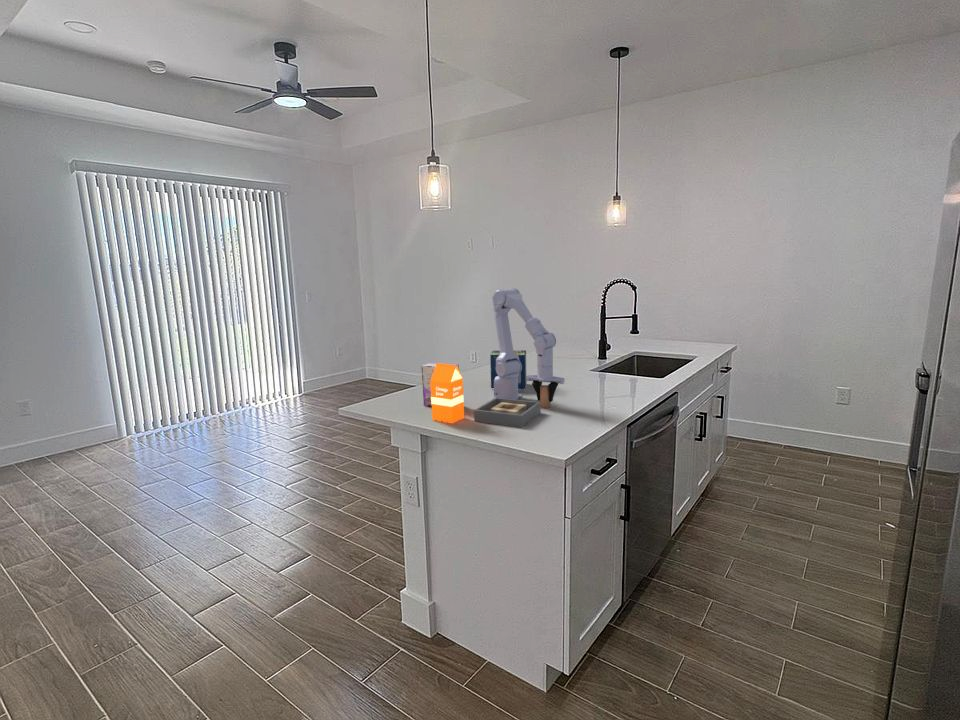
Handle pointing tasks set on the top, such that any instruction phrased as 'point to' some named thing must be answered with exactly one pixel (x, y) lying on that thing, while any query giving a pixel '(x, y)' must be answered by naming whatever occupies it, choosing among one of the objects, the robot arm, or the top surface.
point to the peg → (544, 397)
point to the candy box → (428, 381)
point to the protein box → (495, 354)
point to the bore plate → (509, 408)
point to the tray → (505, 418)
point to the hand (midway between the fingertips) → (545, 400)
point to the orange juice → (447, 393)
